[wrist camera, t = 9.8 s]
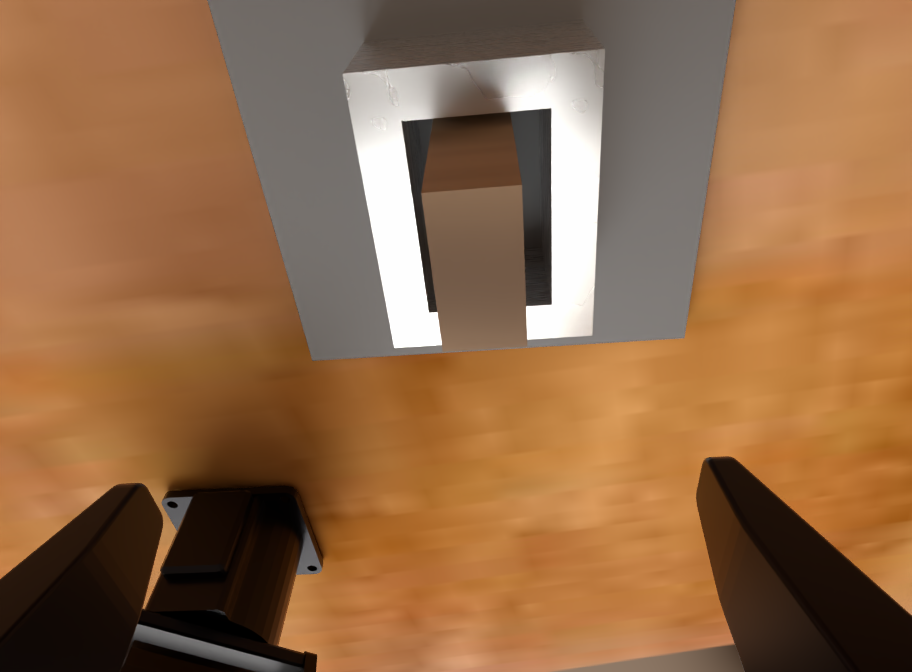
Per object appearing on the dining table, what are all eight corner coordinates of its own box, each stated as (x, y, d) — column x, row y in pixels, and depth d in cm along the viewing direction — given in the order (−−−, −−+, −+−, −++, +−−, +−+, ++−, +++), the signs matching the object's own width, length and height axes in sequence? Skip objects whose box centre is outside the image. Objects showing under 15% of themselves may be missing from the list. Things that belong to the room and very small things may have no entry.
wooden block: (512, 215, 20) (527, 346, 15) (450, 220, 20) (442, 352, 15) (506, 88, 18) (522, 184, 12) (436, 94, 18) (420, 193, 12)
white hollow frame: (576, 275, 22) (592, 335, 19) (404, 287, 22) (394, 347, 19) (582, 20, 17) (605, 49, 14) (363, 41, 17) (342, 73, 14)
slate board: (678, 325, 24) (684, 338, 23) (316, 348, 25) (312, 360, 24) (744, -136, 15) (756, -136, 15) (197, -74, 16) (186, -72, 16)
